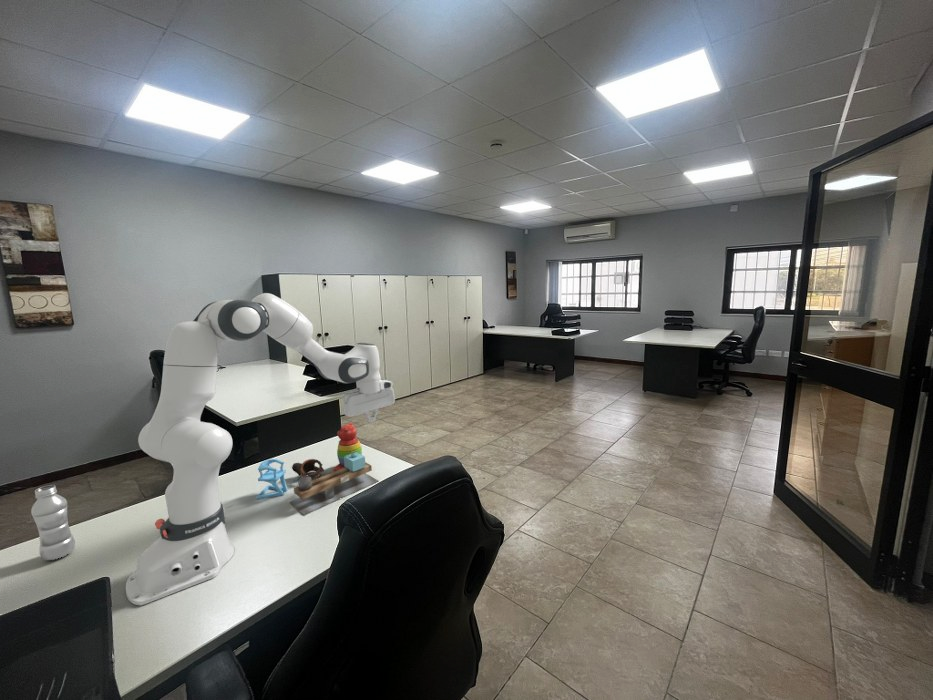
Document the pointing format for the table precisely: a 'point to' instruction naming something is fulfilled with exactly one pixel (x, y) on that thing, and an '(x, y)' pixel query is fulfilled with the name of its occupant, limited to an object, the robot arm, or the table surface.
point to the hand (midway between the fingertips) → (371, 421)
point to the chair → (272, 478)
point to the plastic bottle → (52, 523)
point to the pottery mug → (308, 468)
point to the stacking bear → (347, 444)
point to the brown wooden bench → (330, 488)
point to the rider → (354, 461)
